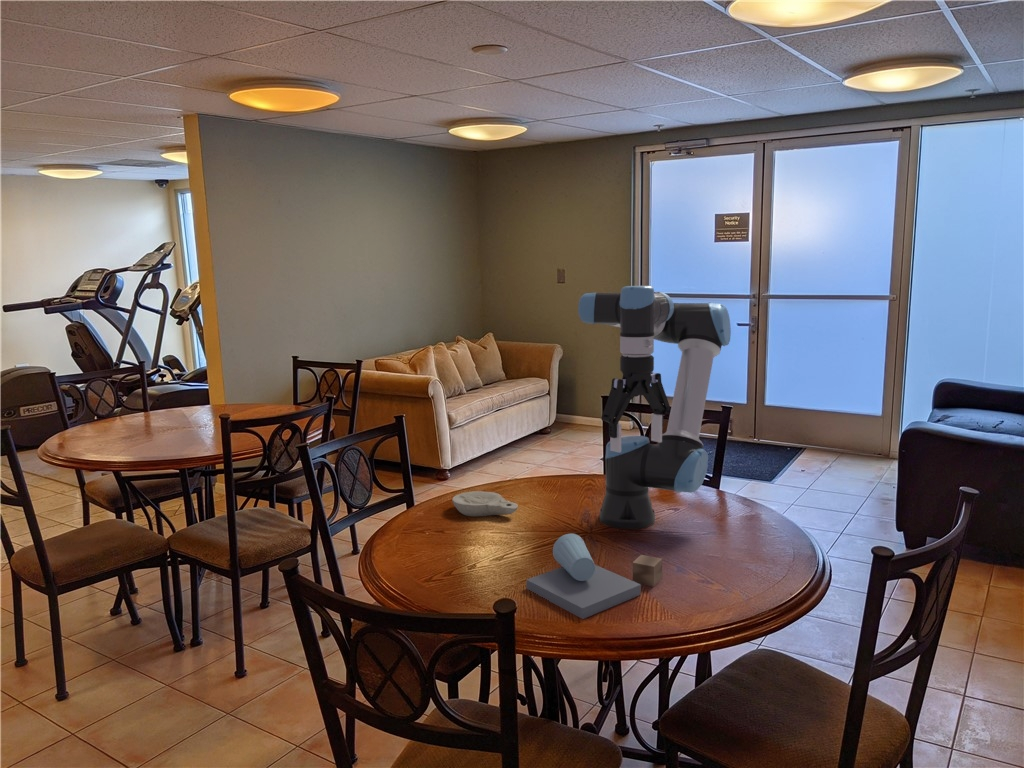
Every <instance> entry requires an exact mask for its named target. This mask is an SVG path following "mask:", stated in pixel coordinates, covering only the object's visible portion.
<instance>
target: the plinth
mask: <svg viewBox="0 0 1024 768" xmlns="http://www.w3.org/2000/svg"><path fill="white" fill-rule="evenodd" d="M525 584H526V590H528V591H529V590H530V591H529V592H531V591H532V592H531V593H533V592H534V593H533V594H535V593H536V594H535V595H537V594H538V595H537V596H539V597H541V598H542V597H543V598H542V599H544V598H545V599H544V600H546V599H547V600H546V601H548V600H549V601H548V602H550V603H551V604H554V605H555V606H557V607H560V608H561V609H563V610H564V611H567V612H568V613H571V614H572V615H574V616H576V617H578V618H580V619H581V620H584V619H587V618H588V617H591V616H593V615H596V614H598V613H601V612H603V611H605V610H608V609H611V608H612V607H615V606H617V605H619V604H622V603H624V602H627V601H629V600H631V599H634V598H636V597H638V596H641V595H642V584H639V583H636V582H634V581H633V579H632V580H631V579H629V578H628V577H625V576H622V575H620V574H618V573H615V572H613V571H611V570H609V569H606V568H604V567H601V566H599V565H598V564H595V572H594V574H593V575H592V577H591V578H589V579H588V580H585V581H578V580H576V579H574V578H573V577H572V576H571V575H570V574H569V573H568V572H567V571H566V570H565V569H564V568H563V567H562V566H561V567H558V568H555V569H552V570H550V571H547V572H544V573H541V574H538V575H535V576H533V577H530V578H527V579H526V583H525Z"/></svg>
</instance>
